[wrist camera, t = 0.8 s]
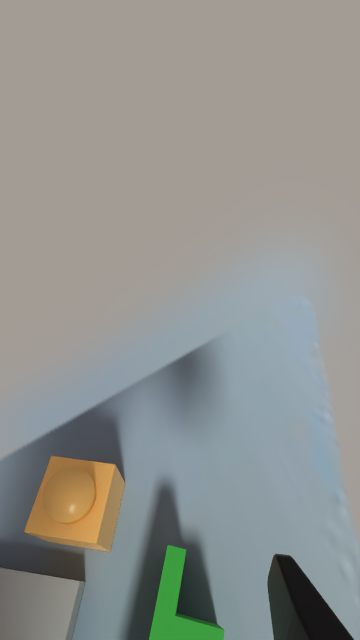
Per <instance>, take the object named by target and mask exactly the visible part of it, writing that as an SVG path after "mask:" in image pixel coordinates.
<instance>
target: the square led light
mask: <svg viewBox="0 0 360 640" xmlns="http://www.w3.org/2000/svg"><path fill="white" fill-rule="evenodd" d="M124 486H125V482H124V480H123V478H122V476H121V474H120V472H119V470H118V468H117V467H116V465H115V464H109V463H101V462H94V461H87V460H79V459H72V458H64V457H57V456H51V458H50V461H49V464H48V467H47V469H46V472H45V475H44V478H43V480H42V483H41V486H40V489H39V492H38V494H37V497H36V500H35V503H34V505H33V508H32V511H31V514H30V516H29V519H28V522H27V525H26V528H25V530H24V532H25V533H27V534H30V535H32V536H35V537H37V538H40V539H43V540H45V541H48V542H52V543H58V544H64V545H71V546H77V547H83V548H90V549H96V550H102V551H108V552H110V551H111V547H112V542H113V537H114V533H115V528H116V523H117V519H118V514H119V509H120V505H121V500H122V496H123V491H124Z"/></svg>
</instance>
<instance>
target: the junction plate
mask: <svg viewBox="0 0 360 640" xmlns="http://www.w3.org/2000/svg"><path fill="white" fill-rule="evenodd" d="M84 586H85V582H83V581H77V580H71V579H65V578H59V577H53V576H48V575H42V574H36V573H30V572H24V571H18V570H12V569H6V568H0V640H71V639H72V635H73V631H74V627H75V623H76V619H77V615H78V611H79V607H80V602H81V598H82V594H83V590H84Z"/></svg>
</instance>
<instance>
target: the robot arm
mask: <svg viewBox="0 0 360 640" xmlns="http://www.w3.org/2000/svg"><path fill="white" fill-rule="evenodd" d="M268 594H269V602H270V611H271V619H272V627H273V635H274V640H354V639H353V638H352V636H351V635H350V634H349V632H348V631H347V630H346V628H345V627H344V626H343V624H342V623H341V622H340V620H339V619H338V618H337V616H336V615H335V614H334V612H333V611H332V610H331V608H330V607H329V606H328V604H327V603H326V602H325V600H324V599H323V598H322V596H321V595H320V594H319V592H318V591H317V590H316V588H315V587H314V586H313V584H312V583H311V582H310V580H309V579H308V578H307V576H306V575H305V574H304V572H303V571H302V570H301V568H300V567H299V566H298V564H297V563H296V562H295V560H294V559H293V558H292V557H291V556H289V555H283V554H275V555H274V557H273V560H272V564H271V567H270V571H269V575H268Z"/></svg>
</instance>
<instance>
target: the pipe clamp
mask: <svg viewBox="0 0 360 640" xmlns="http://www.w3.org/2000/svg"><path fill="white" fill-rule="evenodd" d="M185 557H186V549H182V548H178V547H174V546H170V545H167V550H166V556H165V561H164V566H163V571H162V576H161V581H160V586H159V591H158V596H157V601H156V606H155V612H154V617H153V622H152V627H151V632H150V637H149V640H223V637H224V629H223V628H221V627H220V626H219V625H218V624H215V623H211V622H207V621H204V620H200V619H197V618H193V617H190V616H186V615H183V614H179V613H176V612H177V606H178V600H179V594H180V588H181V581H182V575H183V569H184V563H185Z"/></svg>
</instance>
